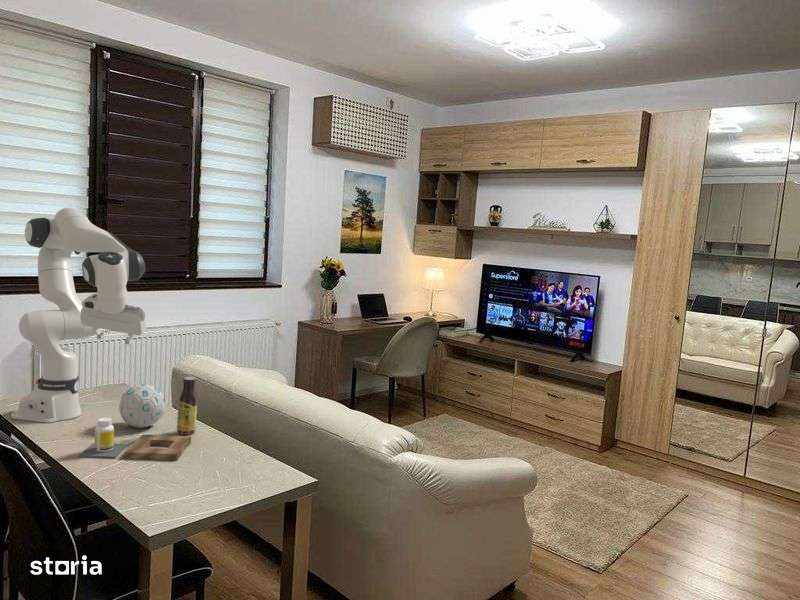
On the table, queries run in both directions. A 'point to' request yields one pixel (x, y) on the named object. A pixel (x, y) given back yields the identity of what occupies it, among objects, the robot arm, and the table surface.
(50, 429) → the table surface
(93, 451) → the rubber mat
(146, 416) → the puzzle ball
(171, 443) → the socket block
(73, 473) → the table surface
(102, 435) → the supplement bottle
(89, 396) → the table surface
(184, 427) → the sauce bottle
